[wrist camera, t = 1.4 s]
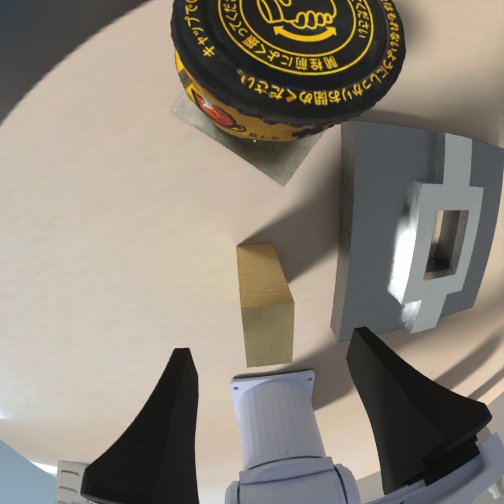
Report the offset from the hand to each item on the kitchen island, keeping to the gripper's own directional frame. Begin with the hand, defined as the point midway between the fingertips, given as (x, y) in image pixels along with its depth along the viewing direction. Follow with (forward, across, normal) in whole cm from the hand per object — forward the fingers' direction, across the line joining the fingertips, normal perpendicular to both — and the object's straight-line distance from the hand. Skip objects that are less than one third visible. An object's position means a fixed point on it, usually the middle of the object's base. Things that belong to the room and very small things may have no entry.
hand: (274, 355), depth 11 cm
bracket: (+7, -14, -1) cm, 16 cm away
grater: (+5, +41, +51) cm, 66 cm away
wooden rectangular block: (+9, 0, +1) cm, 9 cm away
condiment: (+10, -1, -10) cm, 14 cm away
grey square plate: (+9, -14, -1) cm, 16 cm away
